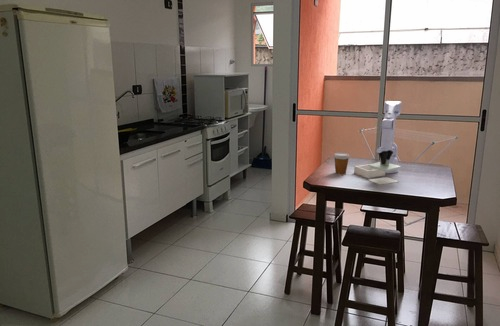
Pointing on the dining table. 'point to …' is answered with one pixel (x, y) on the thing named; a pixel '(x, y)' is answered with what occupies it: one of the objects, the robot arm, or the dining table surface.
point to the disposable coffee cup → (341, 162)
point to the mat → (383, 180)
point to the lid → (384, 166)
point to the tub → (368, 171)
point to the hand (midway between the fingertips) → (384, 163)
